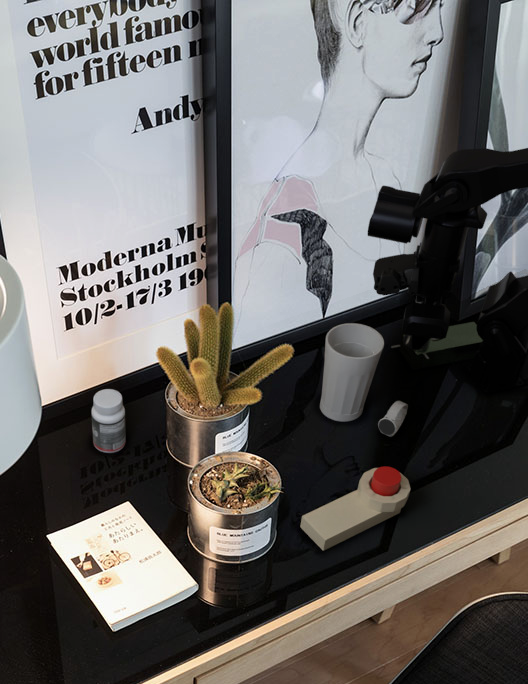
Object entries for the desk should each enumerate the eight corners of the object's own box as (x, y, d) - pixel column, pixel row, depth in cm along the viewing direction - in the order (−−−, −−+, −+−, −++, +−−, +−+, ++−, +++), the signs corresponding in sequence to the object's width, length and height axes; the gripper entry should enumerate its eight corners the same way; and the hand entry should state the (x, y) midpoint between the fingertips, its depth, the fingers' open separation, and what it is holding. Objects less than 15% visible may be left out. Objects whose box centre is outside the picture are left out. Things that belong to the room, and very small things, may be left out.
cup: (366, 391, 143) (382, 324, 133) (369, 426, 138) (386, 359, 128) (313, 388, 143) (325, 321, 134) (314, 424, 139) (326, 357, 129)
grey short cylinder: (374, 437, 137) (380, 410, 133) (390, 418, 139) (397, 392, 135) (392, 445, 135) (399, 419, 131) (408, 426, 138) (416, 399, 134)
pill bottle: (93, 432, 138) (90, 386, 132) (125, 431, 138) (124, 386, 132) (93, 454, 136) (90, 409, 129) (125, 453, 136) (124, 408, 129)
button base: (382, 482, 131) (388, 461, 128) (413, 511, 127) (420, 490, 124) (296, 523, 127) (300, 502, 123) (326, 554, 123) (331, 534, 120)
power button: (386, 473, 127) (389, 462, 125) (404, 490, 125) (407, 479, 123) (365, 483, 126) (367, 472, 124) (382, 500, 124) (385, 489, 122)
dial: (422, 332, 146) (429, 306, 143) (434, 348, 144) (441, 321, 140) (398, 337, 146) (405, 310, 142) (409, 353, 143) (416, 326, 140)
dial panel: (464, 331, 151) (469, 314, 149) (488, 362, 146) (494, 345, 144) (376, 347, 149) (380, 331, 147) (398, 380, 144) (402, 363, 142)
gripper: (389, 206, 139) (370, 298, 151) (376, 277, 128) (356, 370, 140) (467, 215, 137) (441, 307, 149) (460, 288, 126) (433, 381, 139)
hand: (416, 340), depth 145 cm, fingers closed on dial, 4 cm apart
